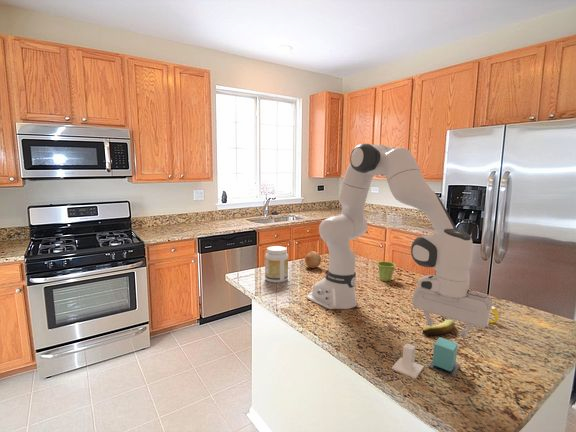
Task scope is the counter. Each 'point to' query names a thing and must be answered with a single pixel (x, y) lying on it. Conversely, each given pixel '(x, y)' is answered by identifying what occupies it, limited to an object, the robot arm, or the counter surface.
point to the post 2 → (449, 373)
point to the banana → (432, 329)
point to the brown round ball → (313, 259)
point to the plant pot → (386, 270)
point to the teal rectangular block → (445, 354)
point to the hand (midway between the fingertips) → (446, 330)
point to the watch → (495, 315)
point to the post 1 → (408, 363)
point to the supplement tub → (276, 264)
